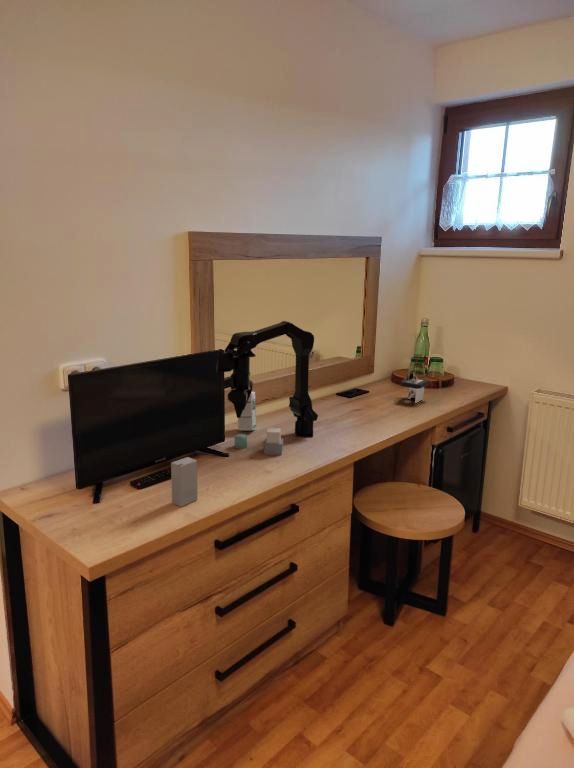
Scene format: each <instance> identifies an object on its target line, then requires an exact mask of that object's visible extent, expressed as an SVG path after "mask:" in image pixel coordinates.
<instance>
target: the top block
mask: <svg viewBox="0 0 574 768" xmlns="http://www.w3.org/2000/svg"><path fill="white" fill-rule="evenodd" d="M281 430H282V428H280V427H278V428H277V427H267V430H266V438H267V443H277V444H280V439H282V437H281V435H282V434H281Z"/></svg>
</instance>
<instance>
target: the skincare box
mask: <svg viewBox="0 0 574 768" xmlns="http://www.w3.org/2000/svg"><path fill="white" fill-rule="evenodd" d="M170 472H171V473H170V474H171V476H170V477H171V481H170V482H171V502H172V503H173V504H175V505H177V506H178V507H184V506H186V505H188V504H191V503H193V502H196V501H197V500H198V460H197V459H194V458H191V457H189V456H187V457H184V458H181V459H178V460H175V461H172V462H170Z"/></svg>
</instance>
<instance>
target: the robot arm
mask: <svg viewBox="0 0 574 768" xmlns="http://www.w3.org/2000/svg"><path fill="white" fill-rule="evenodd" d="M284 335H285V336H286V337H288V338H290V340H291V347H292V349H293V351H294V354H295V371H294V374H295V375H294V376H295V377H294V379H295V380H294V383H295V384H294V393H293V394H292V395H293V396H289V398H288V401H289V404H288V407H289V409H290V411H291V412H292V414H293V417H295V418H296V420H295V421H294V433H295V436H296V437H308V438H313V437H314V422H316V421H318V417H319V415H318V414H317V412H315V411H314V409H313V401H312V399H311V396H310V393H309V378H310V377H309V374H310V373H309V372H310V371H309V370H310V369H309V368H310V367H309V366H310V355H311V352H312V351H313V350H314V344H315V335H314V334H313V333H312V332H310V331H309V330H308V331H307V330H304V329H302V328H301V327H298V326H297V325H295V324H294V323H293V322H291V321H286V320H282V321H281V322H279V323H275V324H272V325H269V326H265V327H263V328H260V329H257V330H254V331H253V330H252V331H241V332H240V331H239V332H235V333H233V334H232V336H231V338H230V341H229V342H228V345H227V346H226V347H225V349H224V353H223V358H217V363H216V373H215V374H218V373H217V372H220V373H226V372H227V373H229V372H232V373H231V374H230V376H227V377H223V378H224V389H223V390H226V389H229V388H230V390H229V392H228V394H227V400H228V401H229V402H230V403H232V404H233V407H234V411H235V415H236V418H237V419H238V418H240V417H241V414H242V412H243V410H244V409H245V407H246V404H247V402H248V400H249V397H250V395H251V392H252V391H253V389H254V382H253V381H252V380H250V376H251V370H250V367H251V365H250V362H251V361H250V360H251V358H256V356H257V355H256V354H255V353H254V352H253V351H252V350H253V349H255V348H256V347H257V346H258V345H259V344H261V343H265V342H266V341H269V340H272V339H275V338H278V337H282V336H284Z"/></svg>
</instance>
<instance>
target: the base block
mask: <svg viewBox="0 0 574 768" xmlns="http://www.w3.org/2000/svg"><path fill="white" fill-rule="evenodd" d="M263 448H264V450H263V453H264V455H276V456H279V455H280V456H282V455H283V450H284V438H280V444H277V443H267V437H265V441H264V445H263Z"/></svg>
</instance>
